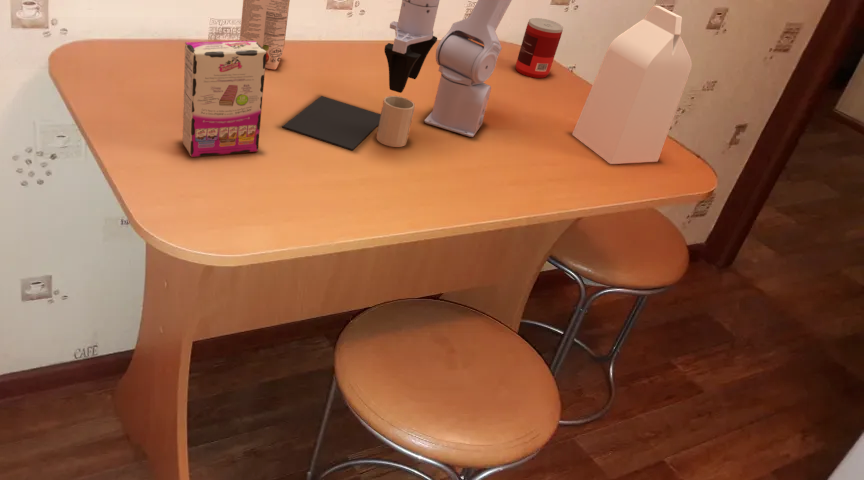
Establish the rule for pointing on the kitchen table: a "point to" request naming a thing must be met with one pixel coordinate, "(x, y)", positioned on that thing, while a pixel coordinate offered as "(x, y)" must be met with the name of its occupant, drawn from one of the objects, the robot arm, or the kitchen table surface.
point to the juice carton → (266, 27)
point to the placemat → (334, 122)
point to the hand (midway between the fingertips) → (403, 83)
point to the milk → (636, 91)
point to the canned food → (538, 47)
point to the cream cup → (395, 121)
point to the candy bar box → (222, 97)
